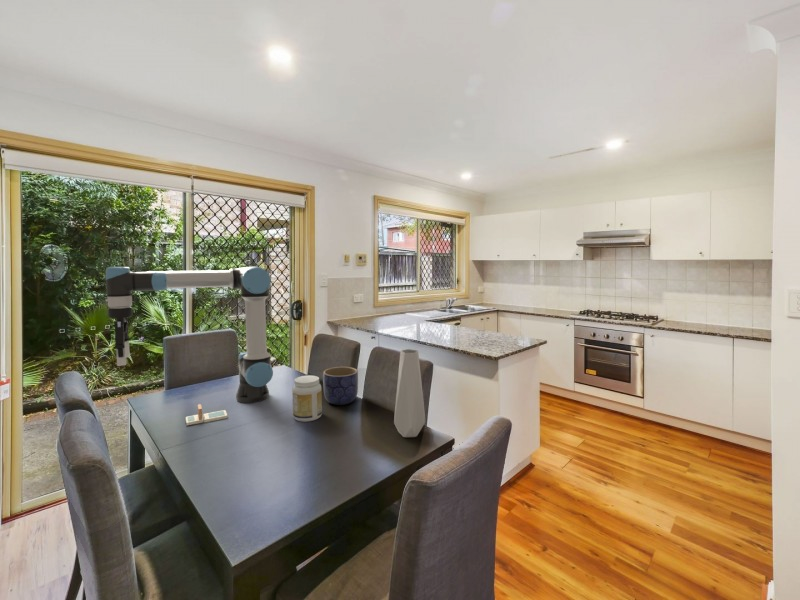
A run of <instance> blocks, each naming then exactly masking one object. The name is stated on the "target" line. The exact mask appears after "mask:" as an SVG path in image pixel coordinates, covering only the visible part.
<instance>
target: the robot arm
mask: <svg viewBox="0 0 800 600" xmlns="http://www.w3.org/2000/svg"><path fill="white" fill-rule="evenodd" d="M104 280H105V288H106V297H107V298H106V299H105V300H104V301H105V302H107V307H108V308H107V315H108V318H110V319H116V321H115V322H114V325H113V326H114V333H115V334H114V335H115V336H114V338H115V339H114V340H115V341H114V343H115V345H114V346H113V348H112V349H113V350H115V354H116V355H115V356H116V366H117V367H120V366H126V365H127V358H130V357H131V354H130V352H131V351H130V342H131V341H132V338H131V337H130V335H129V326H128V325H129V321H128V318H131V317H133V315H134V314H133V307H132V306H133V298H132V292H154V291H156V292H160V291H166V290H168V289H191V288H192V289H193V288H195V289H196V288H198V289H199V288H200V289H202V288H230V289H231V290H240V294H241V295H240V297H241V298H242V299H243V300H244V311H245V312H244V314H245V339H246V341H245V342H246V343H245V344H246V351H243V352H240V353H239V354H238V371H239V372H238V374H239V375H238V376H239V377H238V378H239V384H238V386H237V392H236V394H235V399H236V402H239V403H245V404H248V403H250V404H251V403H258V402H262V401H265V400H266V399H268V398H269V397H270V392H269V391H270V390H269V388H268V385H267V384H268V383H269V382H270V381H271V380H272V379H273V376H274V370H273V367H272V365H271V362H272V361H271V354H270V353H269V352H268V351H267V350H268V348H267V320H266V319H267V317H266V314H267V312H266V300H267V299H268V298H269V296H270V295H269V292H270V291H269V290H270V285H271V280H272V279H271V276H270V274H269V272H268V271H267V270H266V269H265V268H263V267H260V266H256V265H255V266H254V265H253V266H246V267H239V268H238V267H237V268H230V269H229V270H165V271H163V270H159V271H158V270H157V271H155V270H147V271H136V272H135V271H131V268H130V267H129V266H108V267H106V269H105V279H104Z"/></svg>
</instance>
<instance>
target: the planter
mask: <svg viewBox="0 0 800 600" xmlns="http://www.w3.org/2000/svg"><path fill="white" fill-rule="evenodd" d="M322 381H323V382H322V383H323V384H322V385H323V394H324V398H325V400H326V401H327V402H328V403H330V404H331V405H335V406H344V405H348V404H350V403H353V402H354V401H355V399H356V398H357V396H358V392H359V371H358V369H357V368H355V367H351V366H350V367H349V366H336V367H335V366H334V367H329V368H327V369H325V370H324V371H323V373H322Z"/></svg>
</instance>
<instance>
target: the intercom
mask: <svg viewBox="0 0 800 600" xmlns="http://www.w3.org/2000/svg"><path fill="white" fill-rule="evenodd" d="M185 423H186V426H192V425H197V424H202V423H204V421H203V408H202V404H201V403H199V404H197V414H193V415H189V416H185Z"/></svg>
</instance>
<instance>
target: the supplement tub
mask: <svg viewBox="0 0 800 600" xmlns="http://www.w3.org/2000/svg"><path fill="white" fill-rule="evenodd" d="M293 381H294V383H293V384H294V385H293V387H292V390H291V392H292V415H293V417H292V418H293V419H294V420H295V421H296V422H301V423H302V422H303V423H305V422H307V423H308V422H312V421H316V420H318V419H319V418H321V417H322V415H323V407H322V406H323V405H322V404H323V403H322V401H323V399H322V398H323V397H322V385H321V383H320V377H319V376H316V375H301V376H297V377H295V378H294V380H293Z"/></svg>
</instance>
